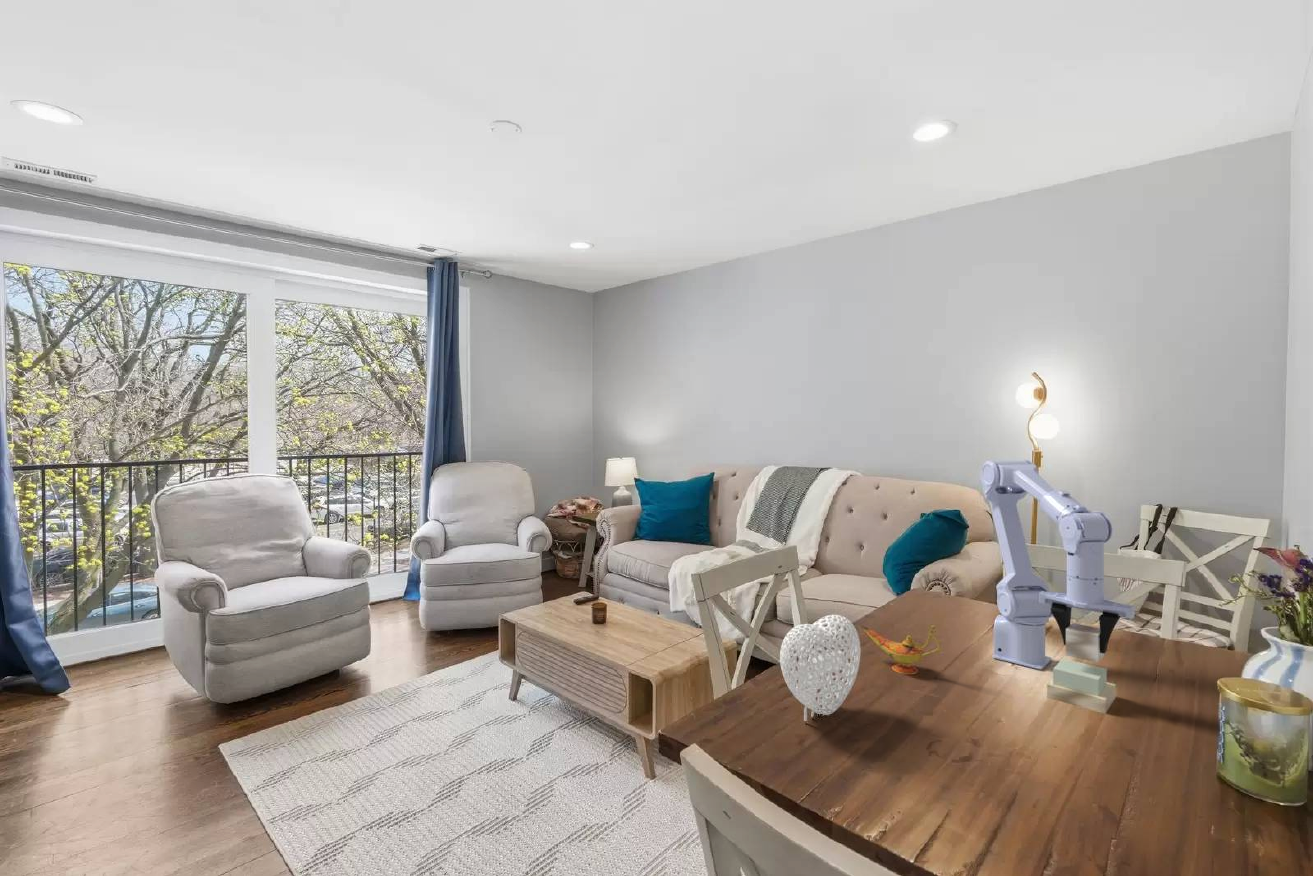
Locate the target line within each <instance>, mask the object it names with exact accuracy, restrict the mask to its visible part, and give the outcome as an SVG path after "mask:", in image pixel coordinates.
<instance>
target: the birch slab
mask: <svg viewBox="0 0 1313 876" xmlns="http://www.w3.org/2000/svg"><path fill="white" fill-rule="evenodd" d="M1116 688H1117V684H1115V683H1111V682H1108V681H1107V685H1106V686H1105V687H1104V689H1103V690H1102V692H1101V693H1100V695H1099V696H1095V695H1091V694H1088V693H1084V692H1080V691H1076V690H1073V689H1069V688H1065V687H1061V686H1058V685H1054V684H1053V678H1052V679H1051V680H1050V681H1049V682H1048V683H1047V684H1046V697H1047V698H1048V699H1051V700H1054V701H1058V702H1062V703H1066V704H1069V705H1073V706H1077V707H1078V708H1079V707H1080V708H1084V709H1087V710H1091V711H1094V712H1098V713H1102V714H1107V713H1108V711H1109V709H1110V708H1111V705H1112V704H1113V703H1114V701H1115V700H1116V697H1117V696H1116V695H1117V694H1116V693H1117V689H1116Z"/></svg>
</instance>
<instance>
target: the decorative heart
mask: <svg viewBox="0 0 1313 876" xmlns="http://www.w3.org/2000/svg"><path fill="white" fill-rule="evenodd" d="M826 625H827V626H826ZM839 627H840V628H839ZM799 636H800V637H799ZM842 637H843V638H842ZM860 641H861V640H860V637H859V634H858V631H857V629H856V627H855V626H854V624H853V623H852V621H850V619H848V618H847V617H845V616H843V615H839V614H829V615H825V616H823V617H821V618H819V619H818V620H816V621H815V622H813V623H812V624H811V623H803V624H797V625H795V626H794V627H793V628H791V629H790V630H789V631H788V632H787V633H786V635H784V638H783V640H782V644H781V646H780V652H779V653H780V654H779V663H780V664H779V665H780V668H781V669H780V670H781V673H782V676H783V679H784V681H785V684H786V685H787V688H788V689H789V690H790V692H791V693H792V695H793V696H794V697H795V698H796V699H797V700H798V701H799V702H800V703H801V704H802V705H803V706H804V708H803V721H807V722H808V709H809V710H811V712H810V718H811V717H813V716H814V717H815V714H817V715H818V714H819V715H820V714H823V715H822V716H824V715H827V716H829V715H831V714H833V713H834V712H836V711H837V710H838V709H839V708H841V705H842V704H843V702H845V700H846V698H847V697H848V695H849V693H850V691H851V689H852V687H853V686H854V684H855V681H856V678H857V675H858V673H859V668H860V662H861V653H862V652H861V642H860ZM825 648H826V649H825ZM842 650H843V651H842ZM797 659H798V660H797ZM849 659H850V660H849ZM840 671H841V672H840ZM833 674H835V675H833ZM834 679H835V680H834ZM818 690H819V692H818ZM816 698H817V699H816ZM821 706H822V707H821ZM818 709H819V710H818Z"/></svg>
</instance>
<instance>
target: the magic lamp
mask: <svg viewBox="0 0 1313 876" xmlns="http://www.w3.org/2000/svg"><path fill="white" fill-rule="evenodd" d="M930 627H931V628H930ZM858 628H859V629H861V630H862V631H864V632H865V633H866V635H867V636H868V637H869V638H871V640H872V642H874V643H875V644H876V646H877V647H879V648H880V649H881V650H882V651H884V652H885V653H886V654H887V655H888V656H890V658H892V659H893V660H895V661H897V662H898V663H897V664H893V665H892V666H891V669H892V670H893V671H895V672H896V673H899V674H903V675H915V674H917V673H918V672H919V670H918V668H916V667H915V666H913V665H912V664H914V663H917V662H919V661H920V662H921V663H922V664H923V665H928V664H929V660H927V663H925V662H924V661H923V657H924V656H926V655H930V654H933V653H935V652H937V651H939V649H940V648H941V644H940V641H939V640H938V639H937V638H936V636H935V635H934V634H936V633H937V629H936V625H929V626H928V630H929V634H928V637H927V639H926V642H925V643H924V645H922V646H919V645H918V644H916V643H915V640H914V639H913V638H912V637H911V636H910V635H907V636H906V639H904V640H903V641H902V642H897V641H893V640H890V639H887V638H885V637H883V636H882V635H880V634H878V633H877V632H875V631H874V630H872V629H871V628H869V627H867V626H864V625H859V626H858ZM933 630H934V631H933ZM931 637H933V639H934V640H935V642H936V643H937V648H936V649H934V650H931V651H929V652H928V651H927V652H924V653H923V649H925V648H926V647H927V646H928V644H929V642H930V640H931Z"/></svg>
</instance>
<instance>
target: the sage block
mask: <svg viewBox="0 0 1313 876" xmlns="http://www.w3.org/2000/svg"><path fill="white" fill-rule="evenodd" d="M1107 673H1108V671H1107V668H1105V667H1101V666H1100V667H1099V666H1096V665H1092V664H1087V663H1083V662H1078V661H1075V660H1070V659H1067V658H1062V659H1061V660H1060V661H1059V662H1058V663H1057V664H1056V665H1055V666H1054V667H1053V668H1052V679H1053V684H1054V685H1058V686H1061V687H1065V688H1069V689H1073V690H1076V691H1080V692H1084V693H1088V694H1091V695H1095V696H1099V695H1100V693H1101V692H1102V690H1103V689H1104V687H1105V686H1106V685H1107V682H1108V681H1107V676H1108V675H1107Z"/></svg>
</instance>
